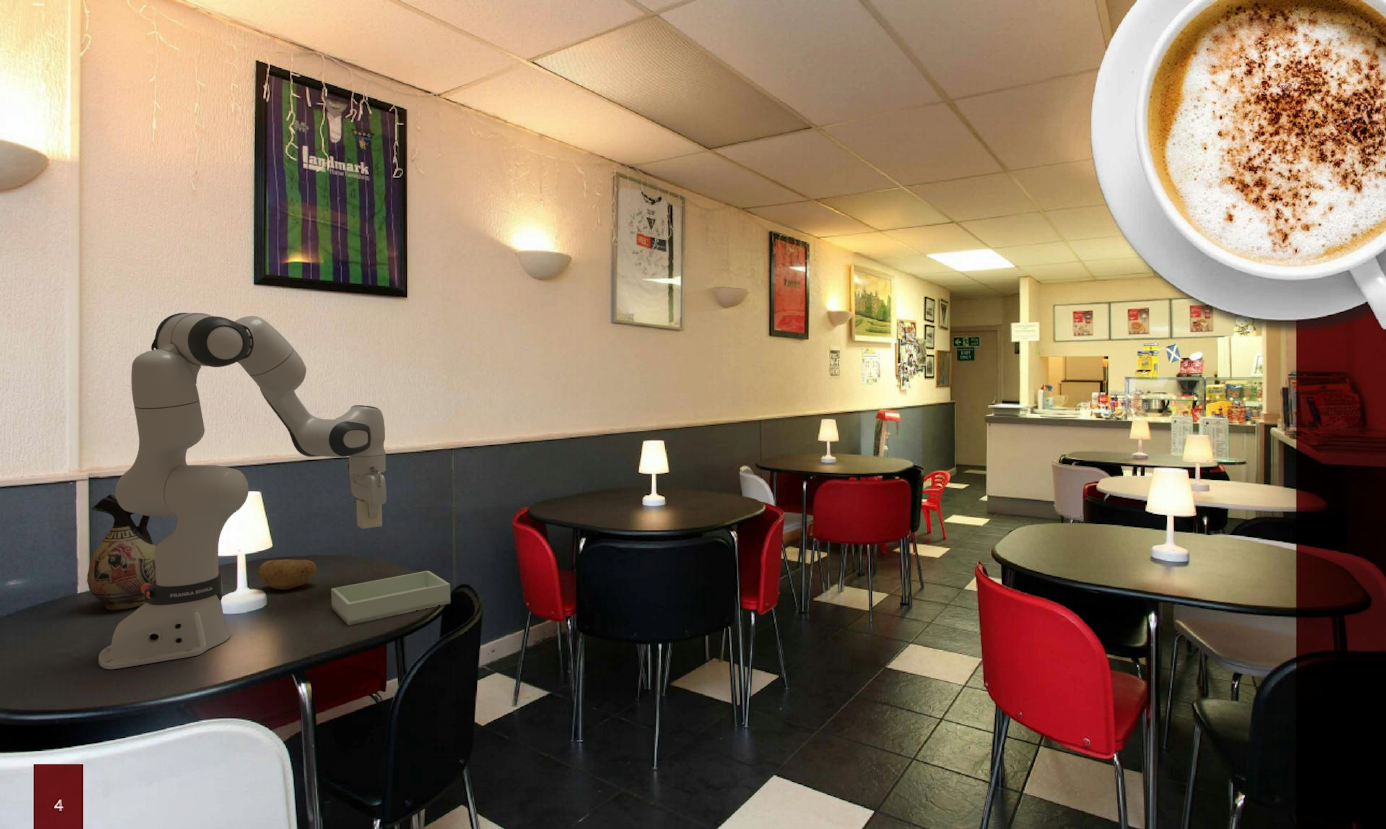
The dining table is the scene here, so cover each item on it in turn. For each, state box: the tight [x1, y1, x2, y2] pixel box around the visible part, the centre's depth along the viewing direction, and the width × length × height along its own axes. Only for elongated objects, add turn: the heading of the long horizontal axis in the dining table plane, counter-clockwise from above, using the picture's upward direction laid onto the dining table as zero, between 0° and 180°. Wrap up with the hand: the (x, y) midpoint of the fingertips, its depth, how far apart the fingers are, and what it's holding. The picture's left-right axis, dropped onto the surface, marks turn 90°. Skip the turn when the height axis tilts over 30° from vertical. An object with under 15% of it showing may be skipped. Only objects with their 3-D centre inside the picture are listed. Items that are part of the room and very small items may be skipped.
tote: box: [330, 570, 452, 627], centre depth 176 cm, size 24×16×5 cm, turn 130°
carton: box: [355, 498, 383, 529], centre depth 188 cm, size 5×5×7 cm
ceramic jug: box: [86, 494, 157, 611], centre depth 177 cm, size 17×15×30 cm
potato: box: [257, 558, 317, 591], centre depth 190 cm, size 10×14×8 cm
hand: (369, 516), depth 188 cm, fingers closed on carton, 5 cm apart
